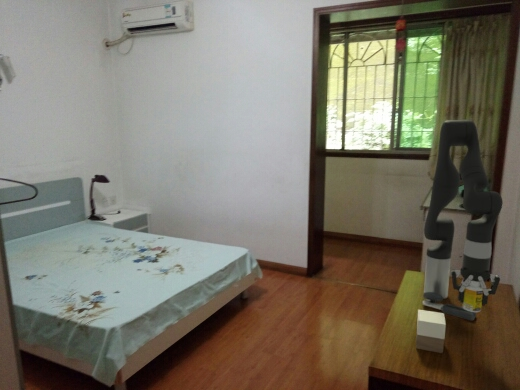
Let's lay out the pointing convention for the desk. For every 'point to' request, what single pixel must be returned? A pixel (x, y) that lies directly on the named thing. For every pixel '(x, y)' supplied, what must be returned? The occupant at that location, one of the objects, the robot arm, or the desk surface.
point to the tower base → (429, 343)
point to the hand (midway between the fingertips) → (472, 303)
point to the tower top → (431, 324)
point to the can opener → (447, 306)
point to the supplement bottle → (473, 297)
